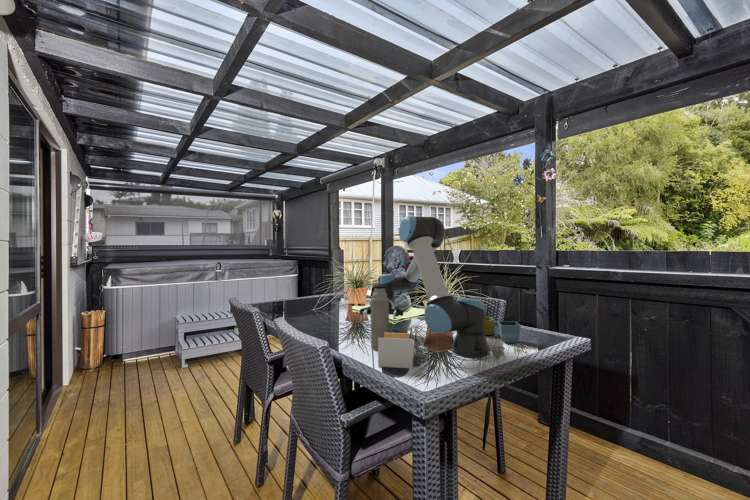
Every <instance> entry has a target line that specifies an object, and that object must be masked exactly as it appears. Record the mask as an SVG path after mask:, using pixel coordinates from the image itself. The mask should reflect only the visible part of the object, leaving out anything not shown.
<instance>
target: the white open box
mask: <svg viewBox="0 0 750 500" xmlns="http://www.w3.org/2000/svg"><path fill="white" fill-rule="evenodd" d="M377 351H378V352H377V355H378V356H377V359H378V360H377V362H378V363H377V365H378V366H379V368H380V367H381V368H393V369H394V368H397V369H413V367H414V361H415V359H414V358H415V339H413V338H409V339H398V338H378V350H377ZM378 366H377V367H378Z"/></svg>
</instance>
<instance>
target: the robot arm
mask: <svg viewBox="0 0 750 500" xmlns="http://www.w3.org/2000/svg"><path fill="white" fill-rule="evenodd" d="M445 235H446V229H445V226H444V224H443V222H442V221H441V219H439V218H437V217H434V216H415V215H412V216H405V217H403V219H402V220H401V222H400V224H399V227H398V236H399V239H400V240H401V241H402V242H404V243H406V244H407V245H406V246H407V247H408V249H409V250H412V252H413V255H414V256H413V258H412V259H411V262H410V264H409V265H408V267H407V270H406V271H405V273H404V274H403V276H395V274H393V273H382V274H381V275H380V276H379V277H380V279H379V286H385V292H386V293H387V295H388V296H387V298H389V315H393V317H392V319H393V320H396V318H397V317H400V316H401V317H403V316H404V310H403V309H401V308H400V307H398V306H396V300H395V294H396V293H395V292H404V291H413V290H417V289H418V288H419V286H420V285H419V284H420V280H419V278H420V276H421V281H422V282H423V283H422V284H423V287H424V289H425V292H426V296H427V299H428V300H427V302H426V303H425V304H426V307H425V309H424V314H423V315H424V322H425V324H426V326H427V327H428V328H429V329H430V330H431V331H432V332H434V333H435V334H448V333H450V332H456V334H455V337H454V341H453V344H452V352H453V354H455V355H457V356H460V357H463V358H464V357H465V358H483V357H484V358H485V357H486V356H489V355H490V347H489V345H488V342H487V339H486V336H485V317H486V309H485V307H486V306H485V302H484V300H481V299H477V298H469V297H457V298H456V300H455V298H454V296H453V294H450V293H449V291H448V289H447V286H446V284H445V281H444V278H443V274H442V272H441V269H440V266H439V262H438V260H437V258H436V255H435V251H436V249H439V248H440V247H441V245H443V242H444V239H445ZM359 315H362V318H363V319H366V318H367V317H368V315H371V305H369V306H367V307H364V308H363V307H362V308H359Z"/></svg>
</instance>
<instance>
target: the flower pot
mask: <svg viewBox="0 0 750 500" xmlns="http://www.w3.org/2000/svg"><path fill="white" fill-rule="evenodd" d="M497 329H498V334H499V336H500V337H499V338H500V339H501V341H502V342H503V341H504V342H505V343H504V344H516V343H517V342H518V341H519V338H520V333H521V324H520V323H518V322H517V321H511V320H510V321H509V320H504V321H503V320H498V321H497ZM506 342H507V343H506Z"/></svg>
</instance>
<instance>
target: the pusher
mask: <svg viewBox="0 0 750 500" xmlns="http://www.w3.org/2000/svg"><path fill="white" fill-rule="evenodd" d="M384 338H398V339H410V333H408V332H389V333H384Z"/></svg>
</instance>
